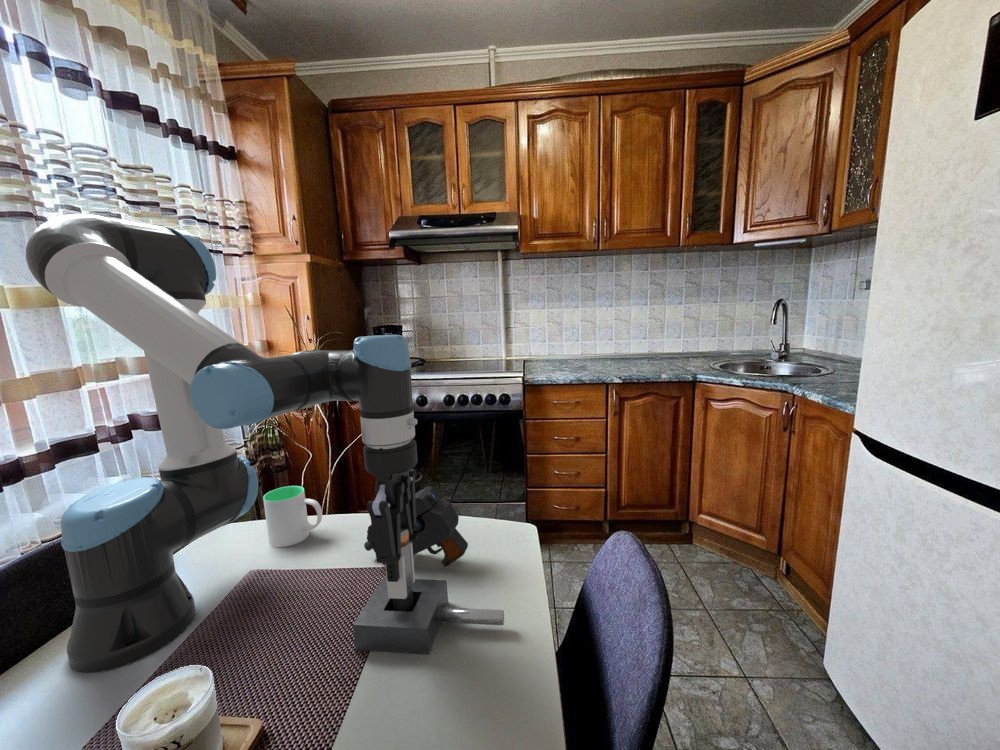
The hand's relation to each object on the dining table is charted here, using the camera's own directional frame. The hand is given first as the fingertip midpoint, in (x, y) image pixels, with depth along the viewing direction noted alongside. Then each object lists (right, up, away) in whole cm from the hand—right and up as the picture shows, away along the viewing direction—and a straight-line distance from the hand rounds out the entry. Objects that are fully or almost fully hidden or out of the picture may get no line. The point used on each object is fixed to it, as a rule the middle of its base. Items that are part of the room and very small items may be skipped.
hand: (402, 588), depth 65 cm
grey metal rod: (0, -6, +1) cm, 6 cm away
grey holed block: (+5, -6, 0) cm, 8 cm away
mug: (-30, -4, +29) cm, 42 cm away
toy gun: (-2, -4, +18) cm, 19 cm away
